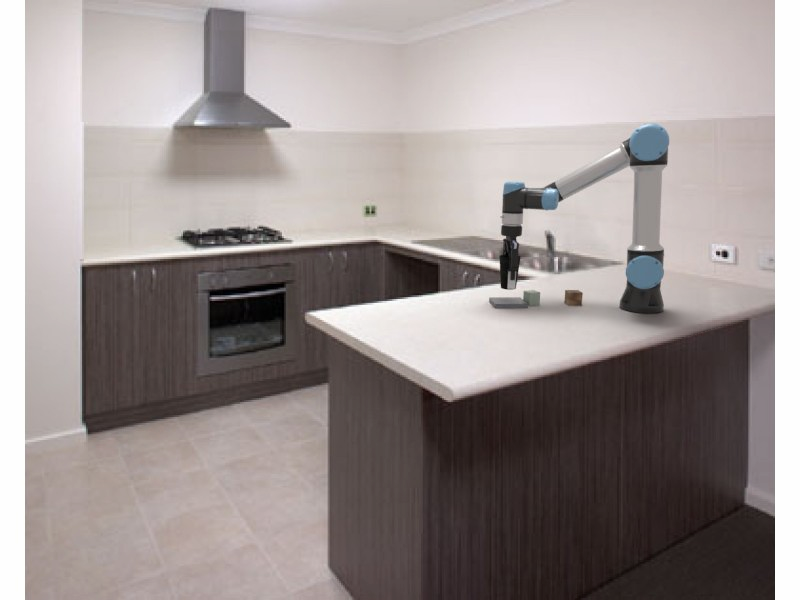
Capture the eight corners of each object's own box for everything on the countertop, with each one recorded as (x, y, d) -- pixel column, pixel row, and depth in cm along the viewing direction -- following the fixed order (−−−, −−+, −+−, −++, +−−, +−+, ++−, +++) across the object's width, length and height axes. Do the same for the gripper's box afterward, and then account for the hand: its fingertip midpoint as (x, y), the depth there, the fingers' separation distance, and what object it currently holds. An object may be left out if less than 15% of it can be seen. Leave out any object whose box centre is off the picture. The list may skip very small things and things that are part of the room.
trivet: (519, 301, 243) (520, 297, 242) (527, 307, 232) (528, 303, 231) (489, 301, 242) (489, 297, 241) (495, 308, 231) (495, 303, 231)
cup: (493, 287, 235) (495, 255, 233) (506, 285, 241) (507, 253, 238) (510, 291, 230) (512, 258, 227) (522, 288, 235) (524, 256, 233)
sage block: (532, 303, 240) (533, 290, 239) (539, 305, 236) (540, 292, 235) (522, 303, 239) (523, 290, 238) (529, 306, 235) (530, 293, 234)
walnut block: (577, 302, 242) (578, 290, 240) (581, 305, 237) (582, 292, 236) (564, 302, 241) (565, 290, 240) (568, 305, 236) (569, 292, 235)
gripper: (495, 221, 240) (492, 281, 245) (508, 227, 220) (505, 292, 225) (514, 222, 241) (511, 281, 246) (529, 228, 221) (525, 292, 226)
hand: (508, 286), depth 235 cm, fingers closed on cup, 8 cm apart
